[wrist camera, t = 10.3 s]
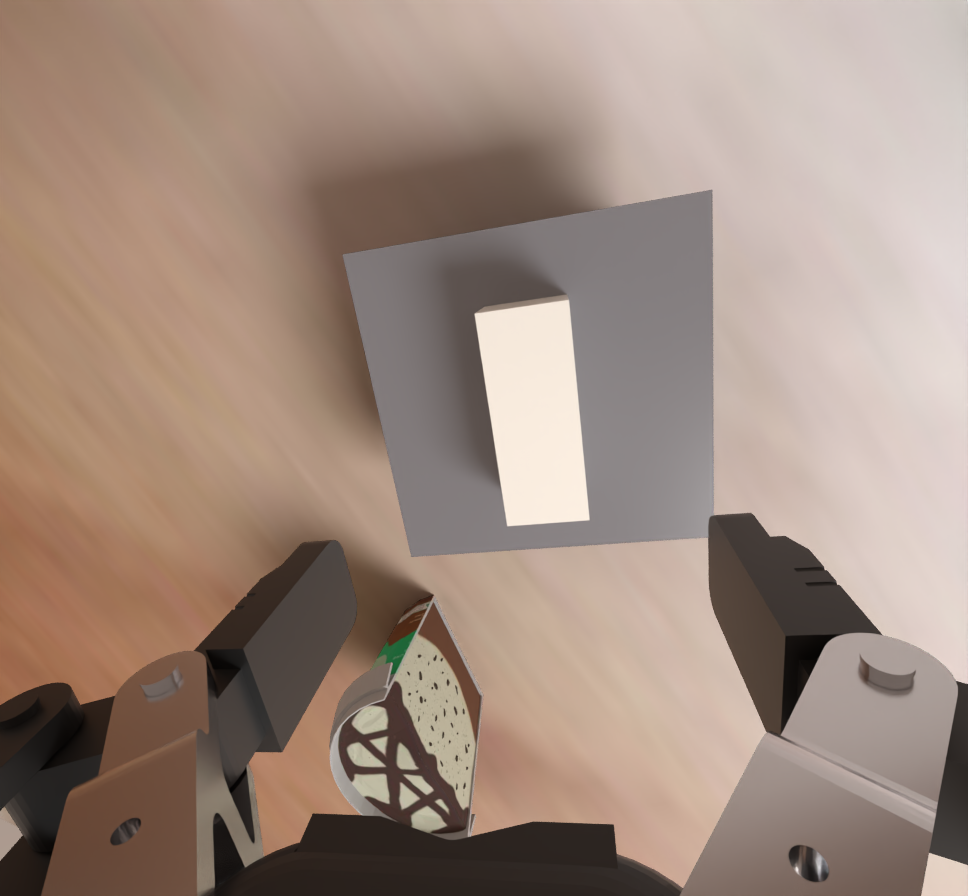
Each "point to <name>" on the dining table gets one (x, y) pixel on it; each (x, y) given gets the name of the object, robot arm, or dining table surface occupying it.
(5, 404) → the dining table surface
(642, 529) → the lid
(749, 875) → the robot arm
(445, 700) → the food container
